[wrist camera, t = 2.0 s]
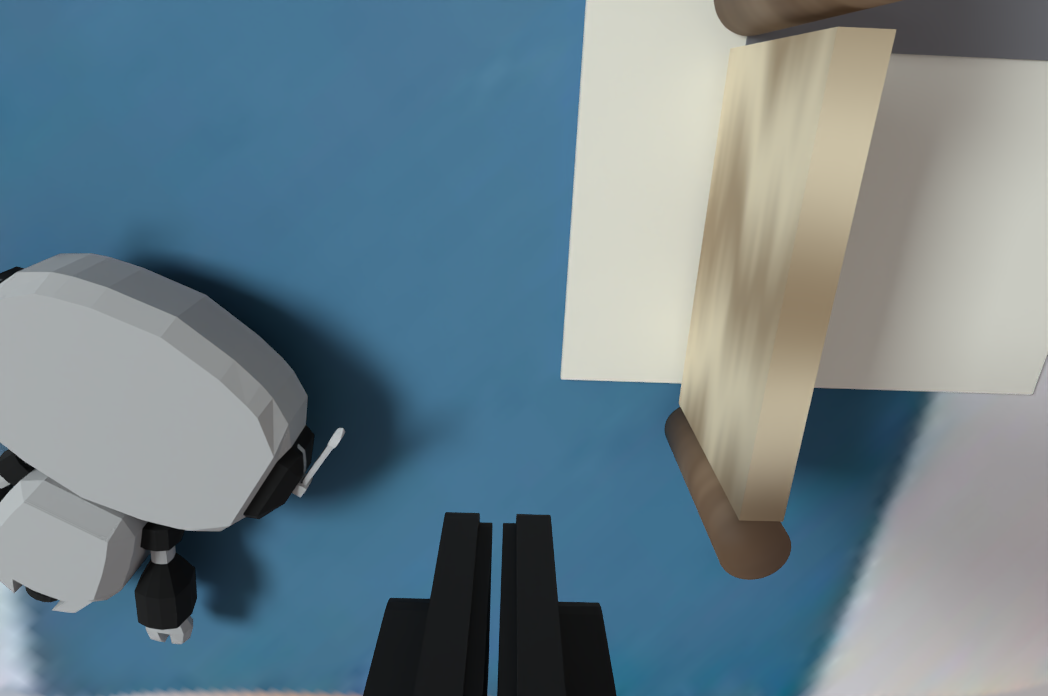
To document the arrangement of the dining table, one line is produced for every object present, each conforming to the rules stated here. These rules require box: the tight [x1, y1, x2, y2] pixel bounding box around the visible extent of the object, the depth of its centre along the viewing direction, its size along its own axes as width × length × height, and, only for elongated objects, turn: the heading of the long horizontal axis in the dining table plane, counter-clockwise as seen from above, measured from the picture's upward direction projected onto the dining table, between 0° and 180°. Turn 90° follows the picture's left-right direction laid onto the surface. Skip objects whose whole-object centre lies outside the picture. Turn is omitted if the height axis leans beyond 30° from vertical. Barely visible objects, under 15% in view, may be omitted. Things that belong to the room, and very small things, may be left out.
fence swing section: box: [665, 27, 897, 580], centre depth 19 cm, size 14×2×7 cm, turn 178°
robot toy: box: [0, 253, 345, 644], centre depth 23 cm, size 12×4×15 cm
